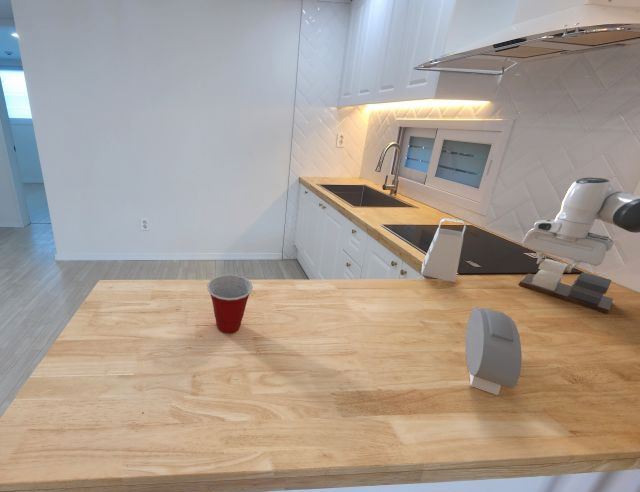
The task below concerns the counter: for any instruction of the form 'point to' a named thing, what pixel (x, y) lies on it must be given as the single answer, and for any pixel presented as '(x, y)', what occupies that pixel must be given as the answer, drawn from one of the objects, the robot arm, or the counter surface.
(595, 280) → the grey stack
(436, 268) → the grater
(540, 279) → the white stack
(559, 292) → the shelf plank
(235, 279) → the plastic cup
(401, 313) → the counter surface
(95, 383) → the counter surface
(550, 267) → the white book
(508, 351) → the alarm clock
